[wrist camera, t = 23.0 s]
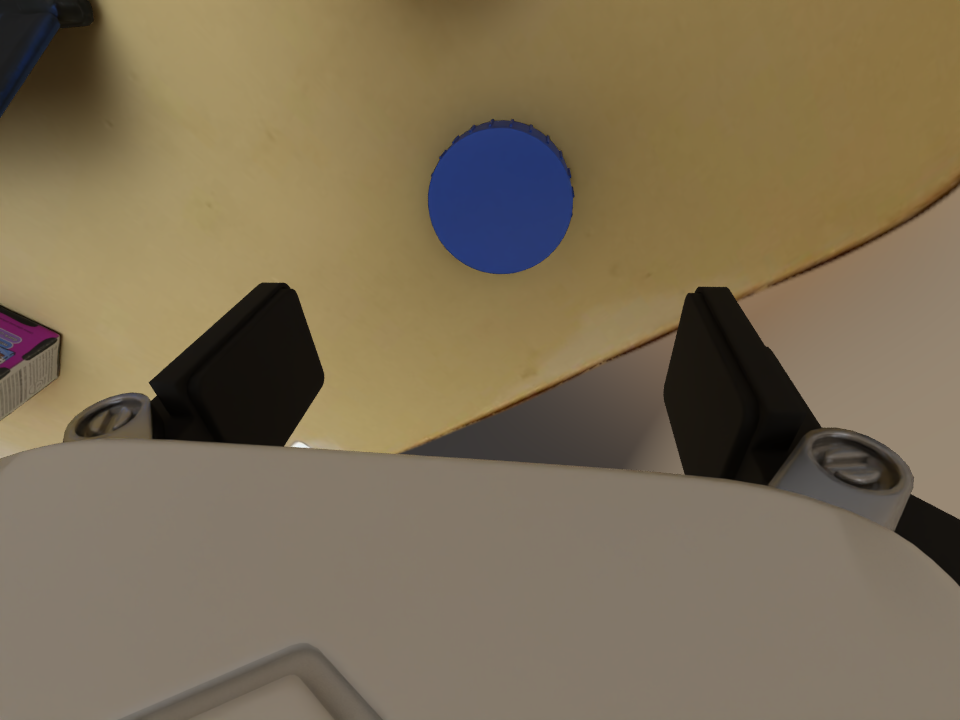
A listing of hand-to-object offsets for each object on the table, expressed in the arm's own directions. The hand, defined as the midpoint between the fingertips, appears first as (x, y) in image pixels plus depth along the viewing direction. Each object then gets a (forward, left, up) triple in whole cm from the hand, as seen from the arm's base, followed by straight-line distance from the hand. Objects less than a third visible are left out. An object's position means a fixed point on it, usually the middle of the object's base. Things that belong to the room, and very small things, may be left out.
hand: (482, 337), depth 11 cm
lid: (0, 0, -11) cm, 11 cm away
